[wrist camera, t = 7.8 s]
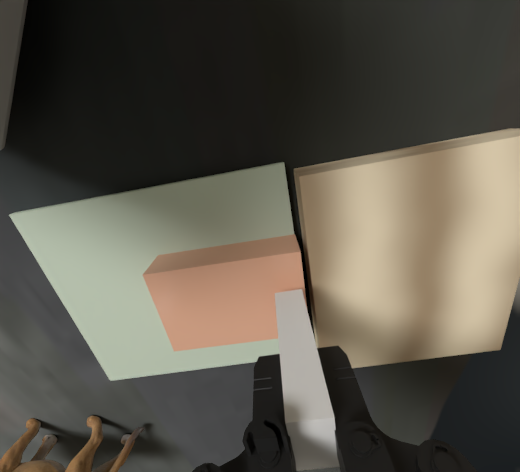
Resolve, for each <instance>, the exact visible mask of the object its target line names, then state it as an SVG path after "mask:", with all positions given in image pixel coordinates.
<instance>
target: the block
mask: <svg viewBox="0 0 520 472" xmlns="http://www.w3.org/2000/svg"><path fill="white" fill-rule="evenodd" d="M143 278H144V280H145V282H146V285H147V287H148V290H149V292H150V295H151V297H152V299H153V302H154V304H155V307H156V309H157V311H158V314H159V316H160V319H161V321H162V323H163V326H164V328H165V331H166V333H167V336H168V338H169V340H170V343H171V345H172V348H173V350H174V351H182V350H190V349H198V348H206V347H214V346H222V345H230V344H238V343H246V342H254V341H262V340H270V339H278V329H277V317H276V305H275V293H278V292H285V291H292V290H298V289H302V291H303V295H304V299H305V303H306V307H307V302H306V294H305V285H304V277H303V268H302V260H301V251H300V248H299V245H298V242H297V239H296V236H295V234H293V235H286V236H280V237H273V238H267V239H260V240H254V241H247V242H241V243H234V244H228V245H221V246H214V247H208V248H201V249H195V250H188V251H182V252H175V253H169V254H162V255H158V256H157V257H156V258H155V260H154V261H153V262H152V263H151V265H150V266H149V267H148V268H147V270H146V271H145V272H144V274H143Z"/></svg>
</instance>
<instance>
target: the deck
mask: <svg viewBox="0 0 520 472" xmlns="http://www.w3.org/2000/svg"><path fill="white" fill-rule="evenodd" d="M293 171H294V179H295V187H296V194H297V202H298V210H299V218H300V226H301V233H302V241H303V249H304V257H305V264H306V272H307V280H308V288H309V296H310V303H311V311H312V319H313V327H314V334H315V342H316V347H317V348H322V347H330V346H339V347H340V348H341V349H342V350H343V351H344V352H345V353H346V354H347V356H348V359H349V361H350V364H351V367H352V368H359V367H367V366H375V365H383V364H391V363H399V362H407V361H415V360H423V359H431V358H439V357H447V356H455V355H463V354H471V353H479V352H487V351H494V350H500V349H501V345H502V341H503V338H504V334H505V330H506V326H507V323H508V319H509V315H510V311H511V308H512V304H513V300H514V296H515V293H516V289H517V285H518V281H519V278H520V129H504V130H499V131H494V132H488V133H483V134H478V135H472V136H467V137H461V138H456V139H451V140H445V141H440V142H435V143H429V144H424V145H418V146H413V147H408V148H402V149H397V150H392V151H386V152H381V153H375V154H370V155H365V156H359V157H354V158H349V159H343V160H338V161H332V162H327V163H322V164H316V165H311V166H306V167H300V168H295V169H293Z"/></svg>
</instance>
